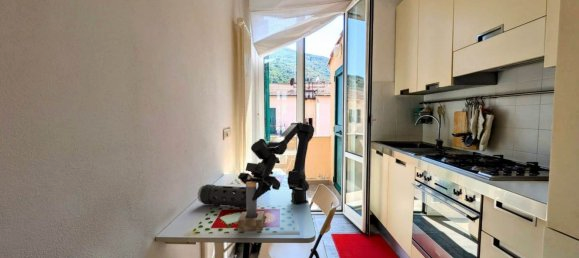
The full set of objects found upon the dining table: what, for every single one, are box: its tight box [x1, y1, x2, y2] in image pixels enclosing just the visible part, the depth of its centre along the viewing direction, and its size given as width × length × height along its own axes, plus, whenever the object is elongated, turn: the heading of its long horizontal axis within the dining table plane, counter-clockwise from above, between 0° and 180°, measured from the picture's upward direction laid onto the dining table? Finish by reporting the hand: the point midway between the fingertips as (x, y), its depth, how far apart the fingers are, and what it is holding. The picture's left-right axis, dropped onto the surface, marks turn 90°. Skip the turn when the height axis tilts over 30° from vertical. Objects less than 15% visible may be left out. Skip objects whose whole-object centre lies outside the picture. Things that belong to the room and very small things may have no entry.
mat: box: [219, 212, 242, 226], centre depth 110 cm, size 9×9×1 cm
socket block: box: [237, 210, 266, 232], centre depth 102 cm, size 9×9×4 cm
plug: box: [245, 181, 258, 218], centre depth 102 cm, size 4×4×14 cm
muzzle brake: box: [197, 184, 246, 209], centre depth 126 cm, size 10×28×10 cm, turn 71°
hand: (249, 199), depth 101 cm, fingers closed on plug, 4 cm apart
